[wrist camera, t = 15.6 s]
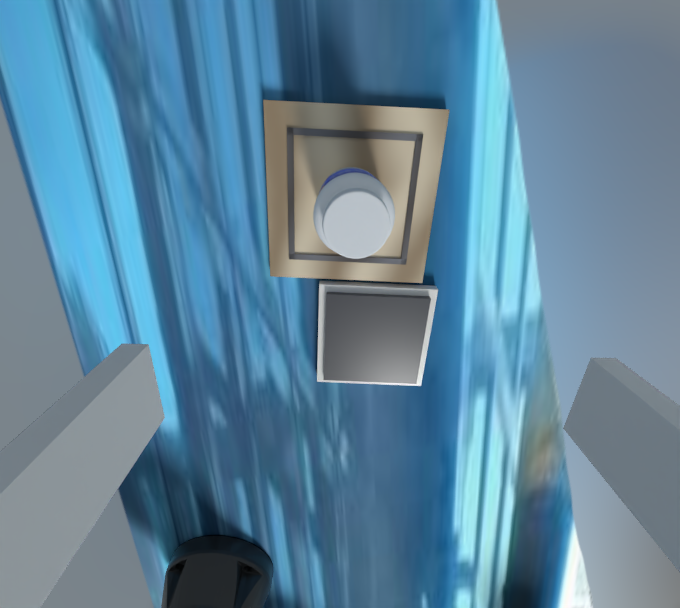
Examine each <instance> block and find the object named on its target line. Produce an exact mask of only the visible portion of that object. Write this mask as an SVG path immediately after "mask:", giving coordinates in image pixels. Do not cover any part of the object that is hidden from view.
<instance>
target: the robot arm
mask: <svg viewBox="0 0 680 608" xmlns="http://www.w3.org/2000/svg"><path fill="white" fill-rule="evenodd" d="M164 418H165V417H164V413H163V408H162V404H161V399H160V394H159V390H158V385H157V381H156V376H155V372H154V367H153V363H152V358H151V354H150V349H149V345H148V344H121V345H120V346H119V347H118V348H117V349H115V350H114V351H113V352H112V353H111V354H110V355H109V356H108V357H106V358H105V359H104V360H103V361H102V362H101V363H100V364H99V365H97V366H96V367H95V368H94V369H93V370H92V371H91V372H89V373H88V374H87V375H86V376H85V377H84V378H83V379H82V380H80V381H79V382H78V383H77V384H76V385H75V386H74V387H73V388H71V389H70V390H69V391H68V392H67V393H66V394H65V395H64V396H62V397H61V398H60V399H59V400H58V401H57V402H56V403H54V405H52V406H51V407H50V408H49V409H48V410H47V411H46V412H44V413H43V414H42V415H41V416H40V417H39V418H37V420H35V421H34V422H33V423H32V424H31V425H30V426H28V427H27V428H26V429H25V430H24V431H23V432H22V433H21V434H19V435H18V436H17V437H16V438H15V439H14V440H13V441H11V442H10V443H9V444H8V445H7V446H6V447H5V448H4V449H2V450H1V451H0V608H40V607H41V605H42V604H43V602H44V601H45V599H46V598H47V596H48V595H49V593H50V592H51V590H52V589H53V587H54V586H55V584H56V583H57V581H58V579H59V578H60V576H61V575H62V573H63V572H64V570H65V568H66V567H67V566H68V564H69V563H70V561H71V560H72V558H73V556H74V555H75V553H76V552H77V551H78V549H79V547H80V546H81V544H82V543H83V541H84V540H85V538H86V537H87V535H88V534H89V532H90V531H91V529H92V528H93V526H94V525H95V523H96V522H97V520H98V518H99V517H100V515H101V514H102V512H103V511H104V509H105V508H106V506H107V505H108V503H109V502H110V500H111V499H112V497H113V496H114V494H115V493H116V491H117V490H118V488H119V487H120V485H121V483H122V482H123V480H124V479H125V477H126V476H127V474H128V473H129V471H130V470H131V468H132V467H133V465H134V464H135V462H136V461H137V459H138V458H139V456H140V455H141V453H142V451H143V450H144V448H145V447H146V445H147V444H148V442H149V441H150V439H151V438H152V436H153V435H154V433H155V432H156V430H157V429H158V427H159V426H160V424H161V423H162V421H163V419H164ZM563 429H564V430H565V431H566V432H567V433H568V435H569V436H570V437H571V438H572V440H573V441H574V442H575V443H576V445H577V446H578V447H579V448H580V450H581V451H582V452H583V453H584V454H585V456H586V457H587V458H588V459H589V461H590V462H591V463H592V464H593V466H594V467H595V468H596V469H597V470H598V472H599V473H600V474H601V475H602V477H603V478H604V479H605V480H606V482H607V483H608V484H609V485H610V487H611V488H612V489H613V490H614V492H615V493H616V494H617V495H618V497H619V498H620V499H621V500H622V501H623V503H624V504H625V505H626V506H627V508H628V509H629V510H630V511H631V513H632V514H633V515H634V516H635V517H636V519H637V520H638V521H639V522H640V524H641V525H642V526H643V527H644V529H645V530H646V531H647V532H648V533H649V535H650V536H651V537H652V538H653V540H654V541H655V542H656V543H657V545H658V546H659V547H660V548H661V550H662V551H663V552H664V553H665V555H666V556H667V557H668V558H669V560H670V561H671V562H672V563H673V564H674V566H675V567H676V568H677V569H678V571H679V572H680V406H679V405H678V404H677V403H675V402H674V401H672V400H671V399H670V398H669V397H667V396H666V395H665V394H663V393H662V392H660V391H659V390H658V389H656V388H655V387H654V386H652V385H651V384H650V383H648V382H647V381H646V380H644V379H643V378H642V377H640V376H639V375H638V374H636V373H635V372H634V371H632V370H631V369H630V368H628V367H627V366H626V365H624V364H623V363H622V362H620V361H619V360H618V359H616V358H591V359H590V362H589V364H588V367H587V369H586V372H585V374H584V377H583V379H582V382H581V385H580V387H579V390H578V392H577V395H576V397H575V400H574V402H573V405H572V407H571V410H570V413H569V415H568V418H567V420H566V423H565V425H564V428H563ZM272 577H273V565H272V562H271V560H270V558H269V557H268V556H267V555H266V554H265V553H264V552H263V551H262V550H261V549H259V548H258V547H256V546H254V545H253V544H250V543H248V542H246V541H243V540H240V539H236V538H232V537H226V536H205V537H199V538H195V539H192V540H189V541H187V542H185V543H183V544H182V545H180V546H179V547H178V548H177V549H176V550H175V552H174V554H173V556H172V558H171V561H170V563H169V565H168V568H167V571H166V575H165V582H164V591H163V599H162V607H161V608H263V606H264V603H265V601H266V599H267V597H268V594H269V592H270V588H271V583H272Z"/></svg>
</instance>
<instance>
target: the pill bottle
mask: <svg viewBox="0 0 680 608" xmlns="http://www.w3.org/2000/svg"><path fill="white" fill-rule="evenodd" d="M313 220H314V226H315V229H316V232H317V234H318V236H319V237H320V239H321V240H322V242H323V243H324V244H325V245H326V246H327V247H328V248H330V249H331V250H333V251H334V252H336V253H338V254H340V255H342V256H344V257H347V258H352V259H359V258H365V257H368V256H370V255H372V254H374V253H375V252H377V251H378V250H379V249H380V248H381V247H382V246H383V245H384V243H385V242H386V240H387V238H388V237H389V235H390V233H391V231H392V228H393V225H394V220H395V208H394V203H393V200H392V197H391V195H390V193H389V192H388V190H387V189H386V188H385V186H384V185H383V184H382V183H381V182H380V181H379V180H378V179H376V178H375V177H374V176H373V175H372V174H371V173H369V172H368V171H366V170H363V169H361V168H356V167H347V168H342V169H339V170H337V171H335V172H334V173H332V174H331V175H330V176H329V177H328V178H327V179H326V180H325V181H324V183H323V185H322V187H321V189H320V191H319V194H318V196H317V199H316V202H315V205H314V211H313Z"/></svg>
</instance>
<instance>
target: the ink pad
mask: <svg viewBox="0 0 680 608" xmlns="http://www.w3.org/2000/svg"><path fill="white" fill-rule="evenodd" d="M437 293H438V289H437V287H436V286H430V285H408V284H386V283H364V282H342V281H320V283H319V316H318V360H317V382H337V383H361V384H386V385H410V386H421V383H422V377H423V372H424V366H425V360H426V355H427V349H428V344H429V338H430V332H431V327H432V321H433V316H434V310H435V304H436V299H437Z"/></svg>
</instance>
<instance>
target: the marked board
mask: <svg viewBox="0 0 680 608" xmlns="http://www.w3.org/2000/svg"><path fill="white" fill-rule="evenodd" d="M263 104H264V129H265V154H266V179H267V203H268V228H269V253H270V276H276V277H298V278H320V279H342V280H364V281H386V282H408V283H422V282H423V276H424V269H425V263H426V256H427V250H428V244H429V237H430V231H431V224H432V218H433V212H434V205H435V199H436V192H437V186H438V180H439V173H440V167H441V161H442V154H443V148H444V141H445V135H446V129H447V122H448V116H449V110H445V109H426V108H407V107H388V106H369V105H350V104H331V103H313V102H294V101H275V100H263ZM347 167H356V168H361V169H363V170H366V171H368V172H369V173H371V174H372V175H373V176H374V177H375V178H376V179H378V180H379V181H380V182H381V183H382V184H383V185H384V186H385V188H386V189H387V190H388V192H389V193H390V195H391V197H392V200H393V203H394V208H395V220H394V225H393V228H392V231H391V233H390V235H389V237H388V238H387V240H386V242H385V243H384V245H383V246H382V247H381V248H380V249H379V250H378V251H377V252H375V253H374V254H372V255H370V256H368V257H365V258H359V259H352V258H347V257H344V256H342V255H340V254H338V253H336V252H334V251H333V250H331V249H330V248H328V247H327V246H326V245H325V244H324V243H323V242H322V240H321V239H320V237H319V236H318V234H317V232H316V229H315V226H314V220H313V211H314V205H315V202H316V199H317V196H318V194H319V191H320V189H321V187H322V185H323V183H324V181H325V180H326V179H327V178H328V177H329V176H330V175H331V174H332V173H334V172H335V171H337V170H339V169H342V168H347Z"/></svg>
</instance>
